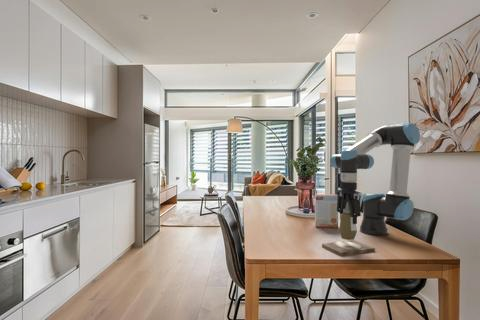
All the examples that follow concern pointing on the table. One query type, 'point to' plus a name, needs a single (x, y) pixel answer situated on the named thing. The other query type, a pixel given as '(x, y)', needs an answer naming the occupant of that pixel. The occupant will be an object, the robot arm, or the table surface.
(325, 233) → the table surface
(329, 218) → the cracker box
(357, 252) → the walnut board
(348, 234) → the squeeze bottle
